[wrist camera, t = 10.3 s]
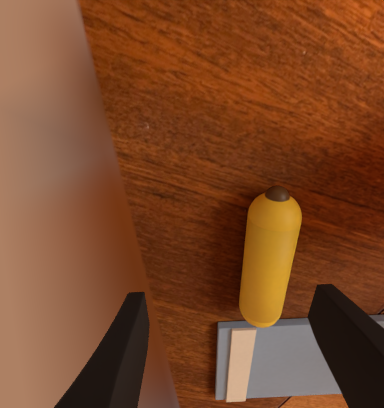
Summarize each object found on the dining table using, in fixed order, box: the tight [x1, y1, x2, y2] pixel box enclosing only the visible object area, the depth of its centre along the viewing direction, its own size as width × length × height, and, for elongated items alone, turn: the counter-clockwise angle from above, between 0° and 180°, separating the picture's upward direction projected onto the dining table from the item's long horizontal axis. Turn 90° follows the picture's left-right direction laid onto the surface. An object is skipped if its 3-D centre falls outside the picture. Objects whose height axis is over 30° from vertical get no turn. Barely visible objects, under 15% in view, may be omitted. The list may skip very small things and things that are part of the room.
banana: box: [239, 186, 302, 328], centre depth 20 cm, size 14×4×4 cm, turn 1°
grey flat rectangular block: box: [215, 315, 384, 402], centre depth 29 cm, size 18×14×1 cm
